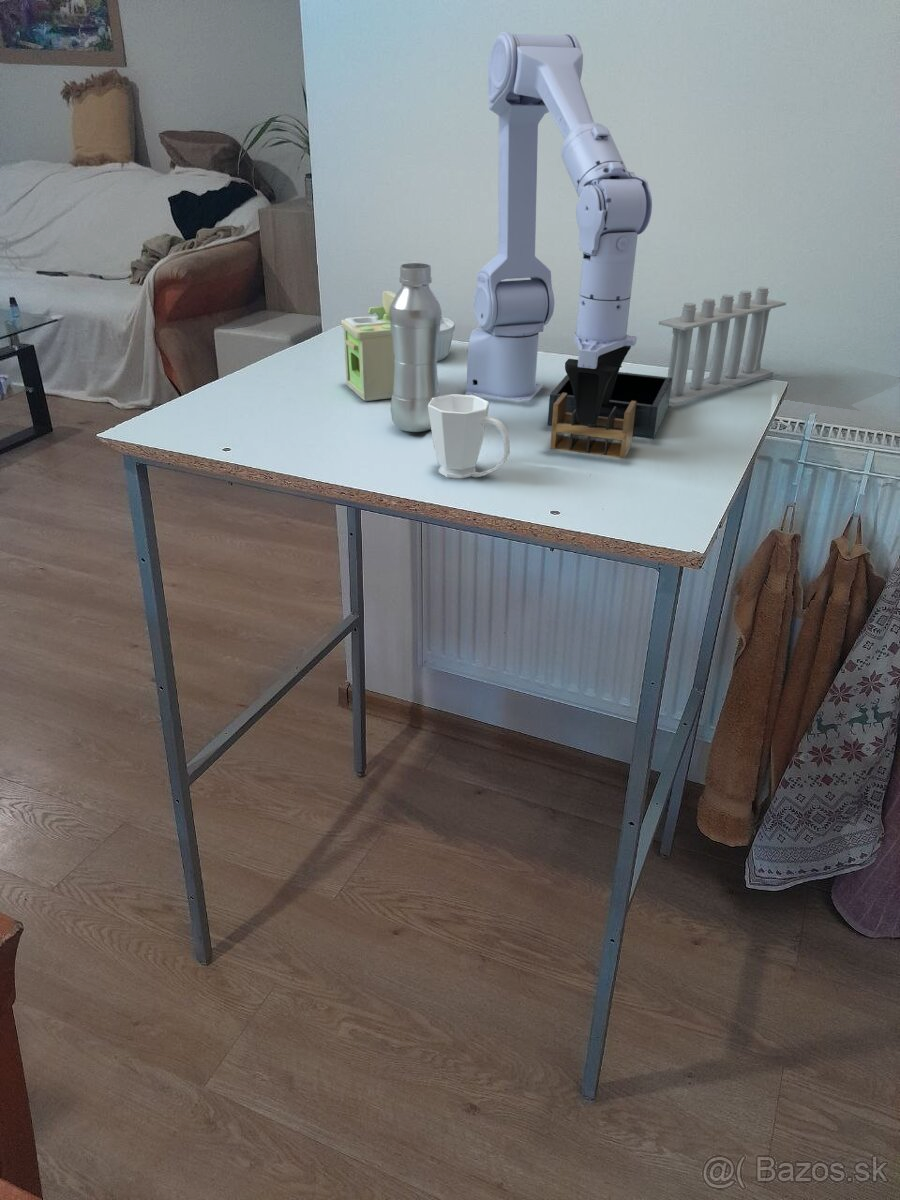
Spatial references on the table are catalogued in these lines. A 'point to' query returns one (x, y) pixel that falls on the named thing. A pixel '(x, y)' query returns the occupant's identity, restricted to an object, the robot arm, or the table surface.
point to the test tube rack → (719, 344)
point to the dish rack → (592, 431)
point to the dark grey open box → (627, 401)
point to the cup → (461, 433)
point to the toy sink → (370, 352)
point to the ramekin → (445, 337)
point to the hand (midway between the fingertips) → (593, 412)
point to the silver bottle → (414, 348)
